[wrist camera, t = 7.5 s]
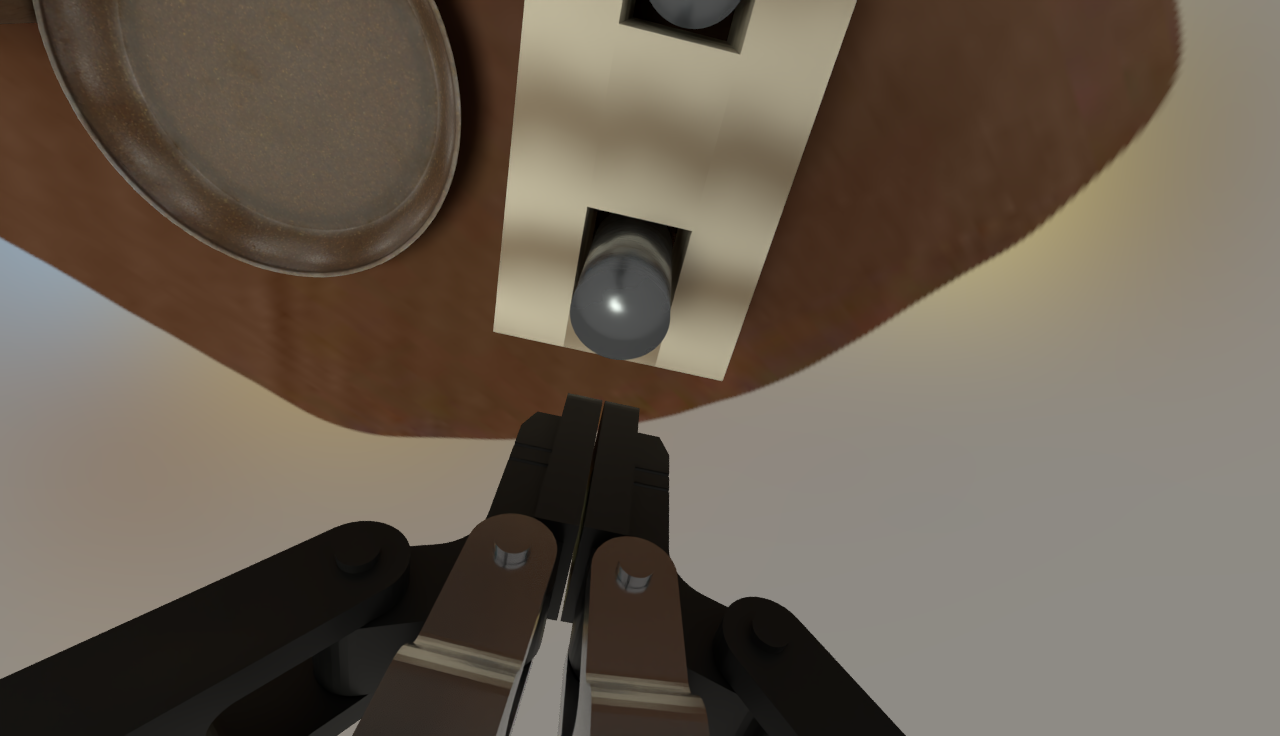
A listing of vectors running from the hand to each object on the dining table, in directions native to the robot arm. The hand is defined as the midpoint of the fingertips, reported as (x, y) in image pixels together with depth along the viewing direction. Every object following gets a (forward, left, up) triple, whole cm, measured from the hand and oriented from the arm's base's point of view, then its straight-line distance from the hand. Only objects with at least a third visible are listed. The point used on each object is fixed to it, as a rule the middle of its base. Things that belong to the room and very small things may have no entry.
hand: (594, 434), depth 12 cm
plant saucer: (0, -20, -25) cm, 32 cm away
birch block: (-3, 0, -24) cm, 24 cm away
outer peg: (+3, 0, -19) cm, 19 cm away
